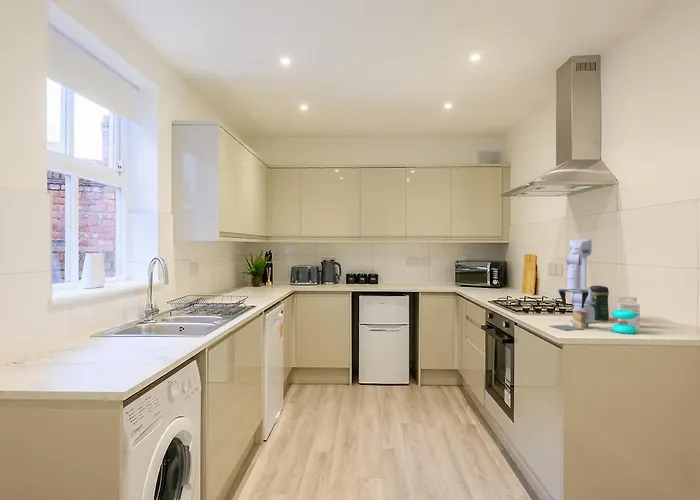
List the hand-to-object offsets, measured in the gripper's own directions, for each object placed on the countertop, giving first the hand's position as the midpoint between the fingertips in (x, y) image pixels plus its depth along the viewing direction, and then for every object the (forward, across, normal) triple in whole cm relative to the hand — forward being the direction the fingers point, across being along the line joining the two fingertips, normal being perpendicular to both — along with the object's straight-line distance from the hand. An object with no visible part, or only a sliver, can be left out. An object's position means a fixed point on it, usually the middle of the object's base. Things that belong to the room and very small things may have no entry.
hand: (573, 307), depth 208 cm
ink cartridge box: (+8, +22, +25) cm, 35 cm away
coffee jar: (+5, +9, +45) cm, 46 cm away
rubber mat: (+10, -4, +7) cm, 13 cm away
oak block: (+9, +2, +12) cm, 15 cm away
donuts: (+10, +20, +8) cm, 24 cm away
